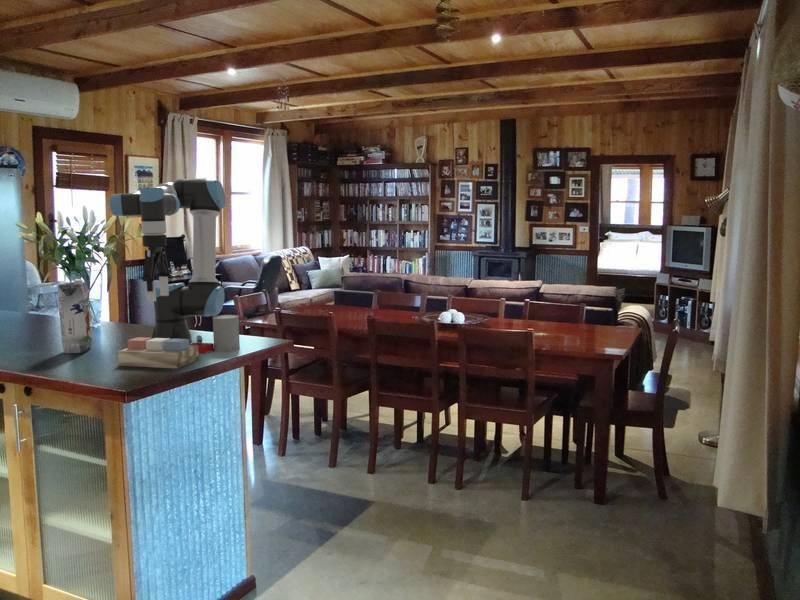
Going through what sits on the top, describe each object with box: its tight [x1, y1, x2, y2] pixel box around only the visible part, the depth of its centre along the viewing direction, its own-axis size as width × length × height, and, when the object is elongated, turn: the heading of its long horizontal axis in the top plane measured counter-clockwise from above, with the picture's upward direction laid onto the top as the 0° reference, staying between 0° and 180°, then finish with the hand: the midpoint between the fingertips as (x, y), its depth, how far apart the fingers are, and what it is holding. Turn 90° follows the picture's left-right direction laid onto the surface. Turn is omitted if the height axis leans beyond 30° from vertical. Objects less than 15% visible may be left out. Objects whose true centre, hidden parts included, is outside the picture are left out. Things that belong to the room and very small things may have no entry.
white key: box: [146, 338, 171, 350], centre depth 242 cm, size 6×6×3 cm
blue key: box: [165, 339, 190, 351], centre depth 240 cm, size 6×6×3 cm
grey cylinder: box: [211, 314, 241, 353], centre depth 264 cm, size 10×10×12 cm
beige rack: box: [117, 345, 200, 369], centre depth 242 cm, size 14×22×5 cm, turn 76°
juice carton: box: [57, 278, 92, 354], centre depth 262 cm, size 9×10×27 cm
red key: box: [126, 336, 152, 349], centre depth 243 cm, size 6×6×3 cm
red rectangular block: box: [189, 335, 215, 355], centre depth 261 cm, size 8×7×6 cm
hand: (158, 298), depth 234 cm, fingers open, 13 cm apart
